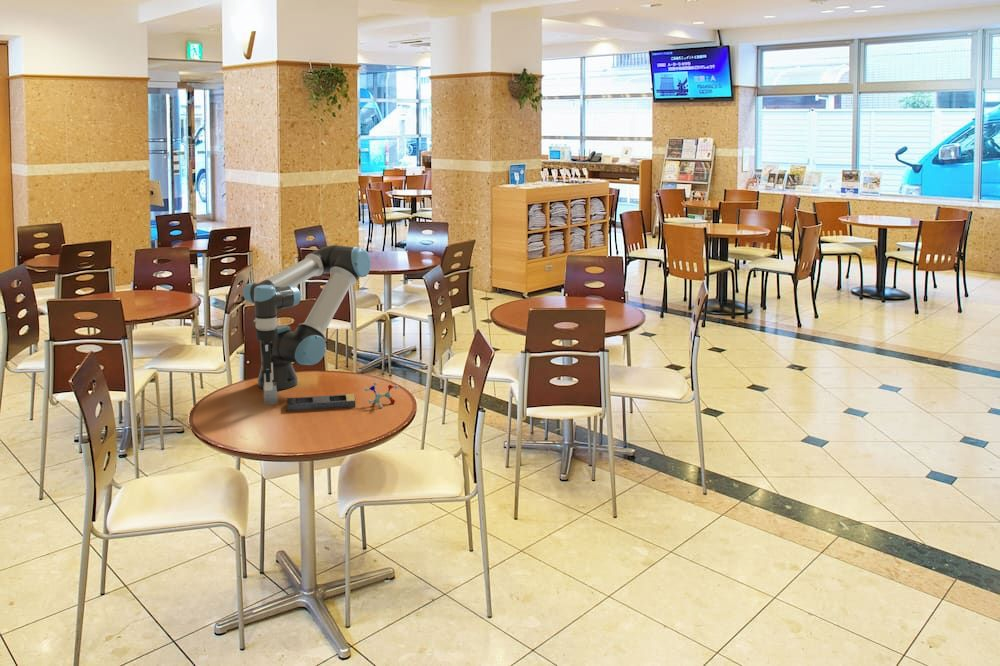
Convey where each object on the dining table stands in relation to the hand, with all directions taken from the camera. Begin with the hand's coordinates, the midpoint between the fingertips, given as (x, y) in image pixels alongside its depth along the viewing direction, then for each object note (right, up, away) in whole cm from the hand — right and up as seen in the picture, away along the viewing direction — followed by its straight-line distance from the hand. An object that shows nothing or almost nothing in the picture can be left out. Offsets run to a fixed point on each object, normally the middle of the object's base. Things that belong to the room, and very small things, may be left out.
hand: (269, 384), depth 321 cm
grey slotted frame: (+19, -7, -2) cm, 21 cm away
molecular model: (+40, -7, +1) cm, 41 cm away
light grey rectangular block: (0, -6, +2) cm, 7 cm away
